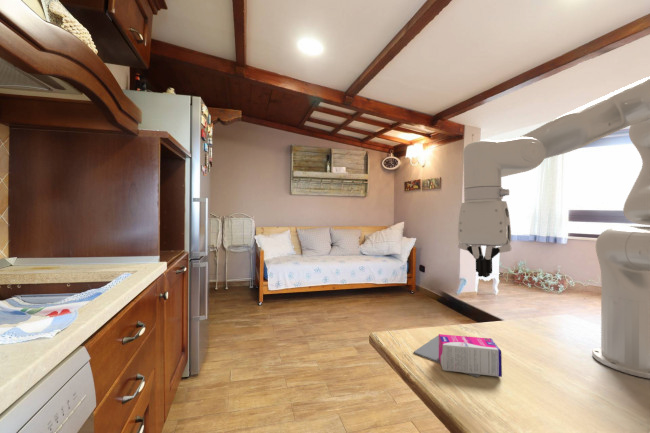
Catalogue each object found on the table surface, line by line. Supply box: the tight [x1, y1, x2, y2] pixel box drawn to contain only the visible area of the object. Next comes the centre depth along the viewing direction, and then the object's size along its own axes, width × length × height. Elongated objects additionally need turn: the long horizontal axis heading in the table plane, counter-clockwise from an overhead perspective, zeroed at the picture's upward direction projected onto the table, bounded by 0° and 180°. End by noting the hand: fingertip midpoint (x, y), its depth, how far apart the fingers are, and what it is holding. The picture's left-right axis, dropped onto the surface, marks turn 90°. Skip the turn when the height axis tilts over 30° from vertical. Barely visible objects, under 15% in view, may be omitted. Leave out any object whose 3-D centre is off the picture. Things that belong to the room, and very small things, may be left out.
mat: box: [413, 334, 481, 378], centre depth 68 cm, size 14×14×1 cm
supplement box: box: [438, 333, 503, 378], centre depth 61 cm, size 6×6×12 cm
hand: (484, 275), depth 64 cm, fingers closed
